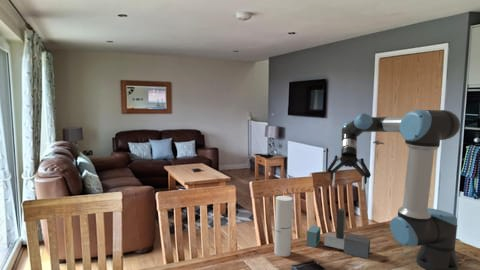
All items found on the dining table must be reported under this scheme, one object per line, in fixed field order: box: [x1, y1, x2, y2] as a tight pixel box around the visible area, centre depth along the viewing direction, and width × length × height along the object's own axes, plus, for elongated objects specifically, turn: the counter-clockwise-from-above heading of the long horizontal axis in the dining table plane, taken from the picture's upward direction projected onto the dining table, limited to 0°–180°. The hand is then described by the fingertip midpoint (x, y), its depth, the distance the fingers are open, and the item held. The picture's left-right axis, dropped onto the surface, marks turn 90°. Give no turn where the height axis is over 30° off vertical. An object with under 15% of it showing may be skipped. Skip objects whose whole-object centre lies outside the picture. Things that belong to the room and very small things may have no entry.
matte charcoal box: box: [343, 232, 371, 260], centre depth 144 cm, size 10×7×7 cm
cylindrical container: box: [274, 195, 293, 258], centre depth 142 cm, size 7×7×25 cm
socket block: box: [306, 224, 322, 248], centre depth 153 cm, size 4×8×7 cm, turn 152°
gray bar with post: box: [323, 208, 346, 251], centre depth 146 cm, size 18×5×17 cm, turn 62°
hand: (348, 188), depth 153 cm, fingers open, 13 cm apart
